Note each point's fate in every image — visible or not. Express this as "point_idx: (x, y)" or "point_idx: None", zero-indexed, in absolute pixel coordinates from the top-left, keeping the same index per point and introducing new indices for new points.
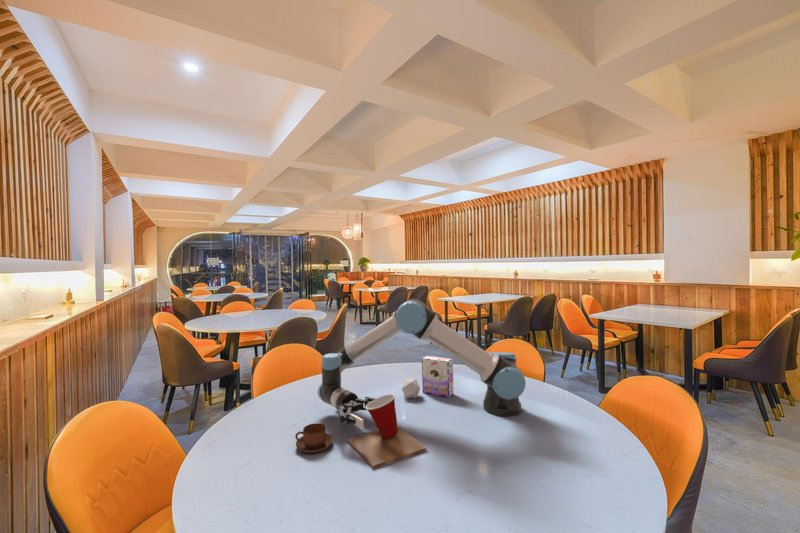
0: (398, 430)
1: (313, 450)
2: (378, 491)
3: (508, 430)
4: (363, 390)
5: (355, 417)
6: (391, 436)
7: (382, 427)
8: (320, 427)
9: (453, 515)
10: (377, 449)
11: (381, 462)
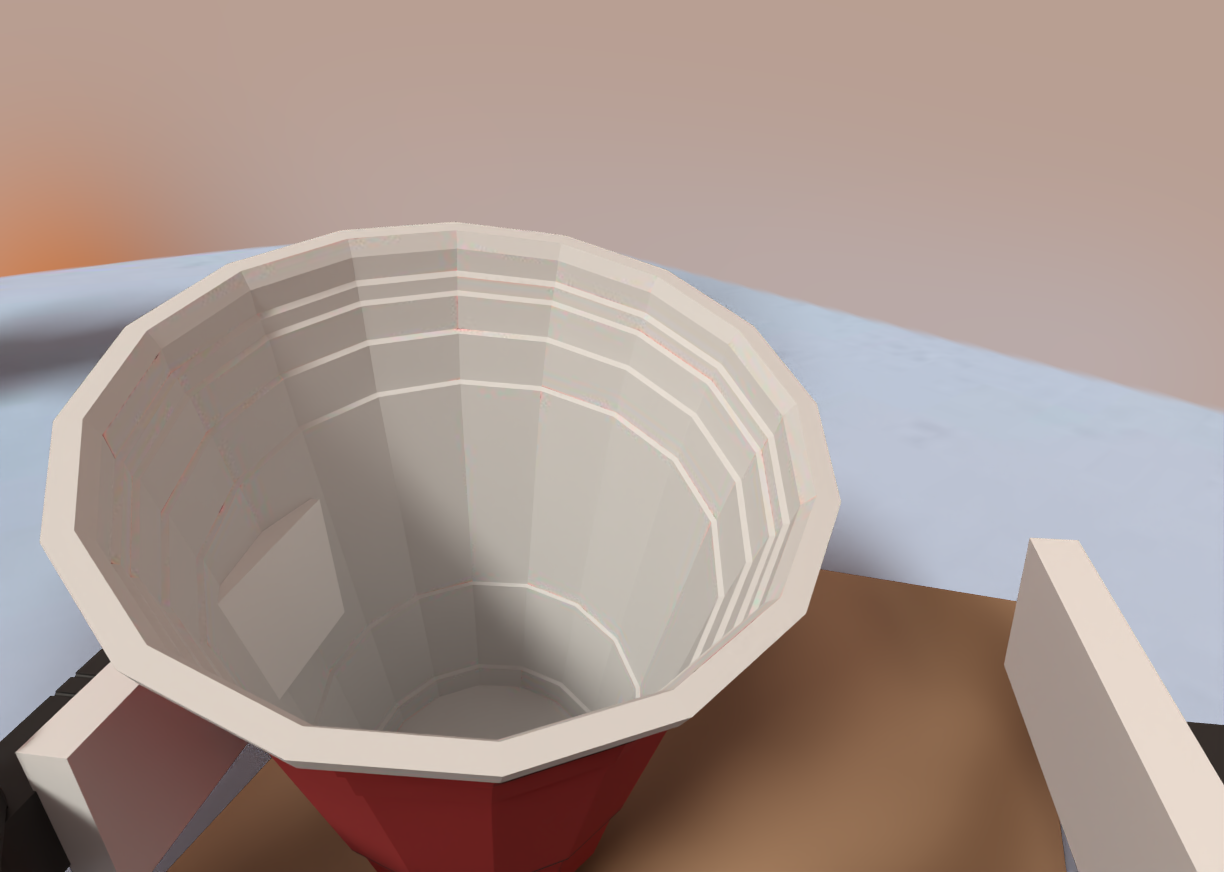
0: (246, 849)
1: None
2: (1100, 497)
3: (19, 411)
4: None
5: (1160, 690)
6: (564, 697)
7: (645, 651)
8: None
9: (864, 339)
10: (829, 736)
11: (935, 590)
